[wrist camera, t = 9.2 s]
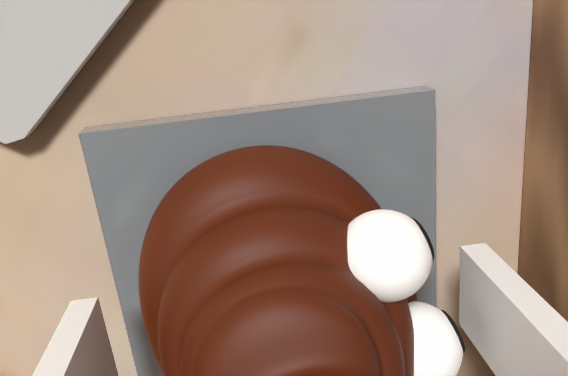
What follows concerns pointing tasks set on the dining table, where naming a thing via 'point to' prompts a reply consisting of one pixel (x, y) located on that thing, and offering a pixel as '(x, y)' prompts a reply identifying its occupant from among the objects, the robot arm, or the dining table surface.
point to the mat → (254, 132)
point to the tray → (547, 159)
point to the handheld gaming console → (46, 54)
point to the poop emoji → (288, 275)
